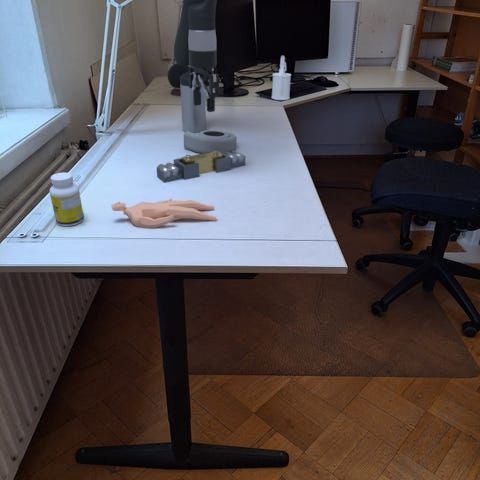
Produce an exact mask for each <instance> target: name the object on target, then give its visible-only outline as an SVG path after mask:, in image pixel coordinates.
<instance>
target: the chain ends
mask: <svg viewBox="0 0 480 480" xmlns="http://www.w3.org/2000/svg"><path fill="white" fill-rule="evenodd" d="M218 152H219V153H221V154H222V155H223V158H219V159H215V171H214V172H215V173H217V174H218V173H221V172H227V171H230V170H232V169H235V168H239V167H244V166H246V155H244V154H242V153H240V152H238V151H237V150H235V149H234V150H232V151H230V152H225V153H222V152H221V151H218ZM172 160H173V163H172V162H166V163H165V164H162V163H160V164H158V165H157V166H156V178H158V179H159V180H160V181H162V183H169V182H172V181H173V182H174V181H177V180H182V179H183V180H184V181H185V180H189V179H194V178H198V177H200V174H199V163H194V164H188V165H184V164H183V163H182V157H180V158H176V159H172Z"/></svg>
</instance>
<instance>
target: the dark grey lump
mask: <svg viewBox="0 0 480 480" xmlns="http://www.w3.org/2000/svg"><path fill="white" fill-rule="evenodd" d="M189 67H190V65H179V64H177V63H174V64H173V65H172V66H171V67H170V68H169V69H168V71H167V80H168V83H169V84H170V86H171V87H172V88H173V89H171V91H170V94H171V96H175V97H181V88H180V77H181V76H182V75H183V74H185V73H187V72H188V71H189Z"/></svg>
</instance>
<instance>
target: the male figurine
mask: <svg viewBox="0 0 480 480" xmlns="http://www.w3.org/2000/svg"><path fill="white" fill-rule="evenodd" d="M126 205H127V203H125V202H120V201H118V202H115V203H112V204H111V209H112V211H114V212H123V215H125V216H126V217H128V219H129V220H130V222H131V223H132V224H133V225H134V226H135V227H140V228H144V229H153V228H154V229H156V228H160V227H163V226H166V225H168V224H170V223H171V222H172V221H177V220H182V219H194V220H203V221H204V220H205V221H207V220H209V221H211V222H212V221H213V222H217V216H216V215H211V214H208V213H205V212H202V211H205V210H207V211H215V206H214V205H209V204H205V203H202V202H198V201H196V200H173V198H170V199H166V200H160V201H159V200H158V201H155V202H147V201H141V202H138V203H137V204H134V205H132V206H128V207H127V206H126ZM200 210H201V211H200Z"/></svg>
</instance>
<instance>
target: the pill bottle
mask: <svg viewBox="0 0 480 480" xmlns="http://www.w3.org/2000/svg"><path fill="white" fill-rule="evenodd" d="M50 183H51V185H52V186H51V187H50V189H49V196H50V200H51V204H52V205H51V206H52V208H53V209H52V210H53V213H54V218H55V222H56V224H58V226H62V227H72V226H73V227H74V226H76V225H78V224H81V223H82V222H83V221H84V218H85V215H84V210H83V205H82V198H81V194H80V188H79V186H78V184H76V183H75V182H74V178H73V174H72V173H70V172H58V173H54V174H53V175H50Z"/></svg>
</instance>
